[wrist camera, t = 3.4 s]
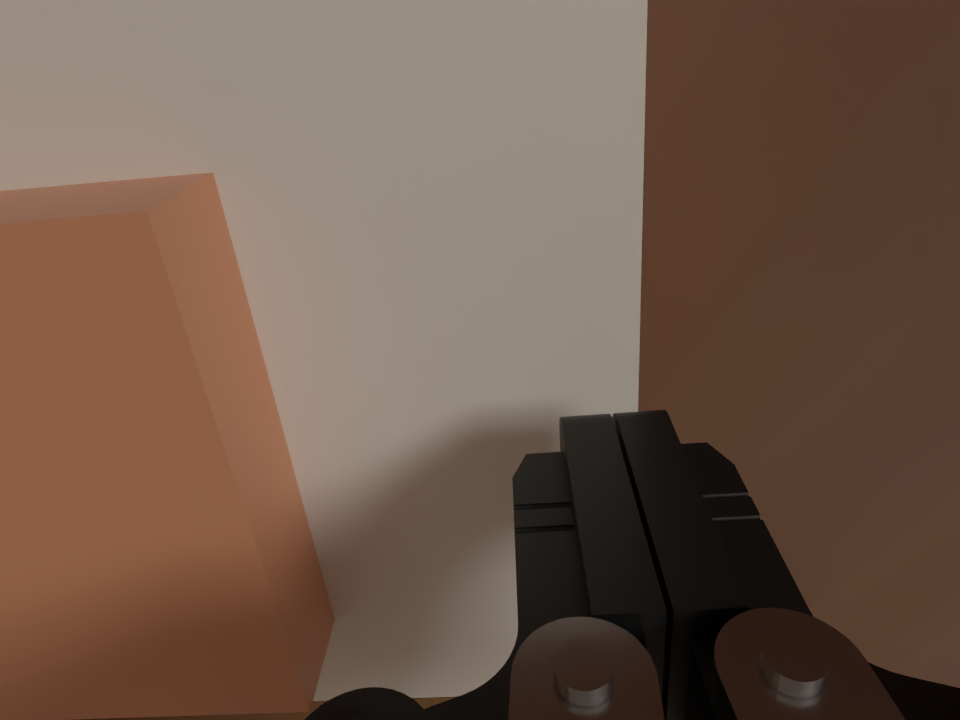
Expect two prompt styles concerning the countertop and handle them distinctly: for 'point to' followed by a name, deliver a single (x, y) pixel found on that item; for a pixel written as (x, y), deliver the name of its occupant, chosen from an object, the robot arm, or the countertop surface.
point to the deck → (383, 259)
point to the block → (144, 468)
